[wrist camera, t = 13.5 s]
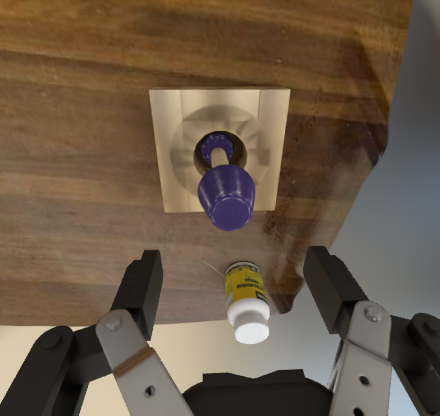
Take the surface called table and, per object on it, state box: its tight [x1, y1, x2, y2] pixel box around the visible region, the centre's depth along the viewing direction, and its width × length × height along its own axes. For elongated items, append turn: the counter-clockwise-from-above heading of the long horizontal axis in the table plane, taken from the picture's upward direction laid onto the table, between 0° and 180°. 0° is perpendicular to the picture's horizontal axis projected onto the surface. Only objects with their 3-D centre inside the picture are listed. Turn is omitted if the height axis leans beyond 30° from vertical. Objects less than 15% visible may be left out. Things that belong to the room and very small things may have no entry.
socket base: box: [149, 86, 290, 212], centre depth 29 cm, size 14×14×4 cm
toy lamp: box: [198, 132, 255, 231], centre depth 24 cm, size 5×5×17 cm
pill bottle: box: [225, 262, 270, 344], centre depth 38 cm, size 6×6×11 cm
